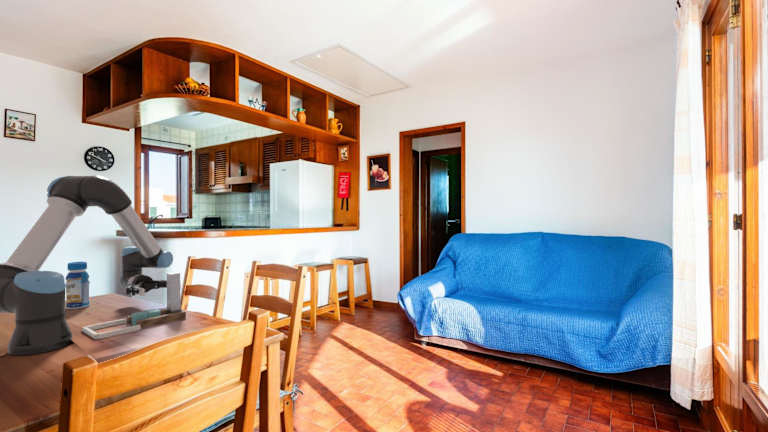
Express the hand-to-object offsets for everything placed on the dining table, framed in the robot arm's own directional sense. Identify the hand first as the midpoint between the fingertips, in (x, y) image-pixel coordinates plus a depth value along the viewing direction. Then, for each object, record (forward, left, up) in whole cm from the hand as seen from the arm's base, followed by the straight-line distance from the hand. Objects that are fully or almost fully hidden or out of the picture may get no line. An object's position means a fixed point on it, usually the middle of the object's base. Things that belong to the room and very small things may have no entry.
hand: (162, 289), depth 153 cm
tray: (-21, -10, -11) cm, 25 cm away
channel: (-6, -10, -11) cm, 16 cm away
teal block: (-8, -10, -9) cm, 16 cm away
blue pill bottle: (-16, +47, -11) cm, 51 cm away
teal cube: (-12, -10, -9) cm, 18 cm away
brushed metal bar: (0, -10, -9) cm, 14 cm away
